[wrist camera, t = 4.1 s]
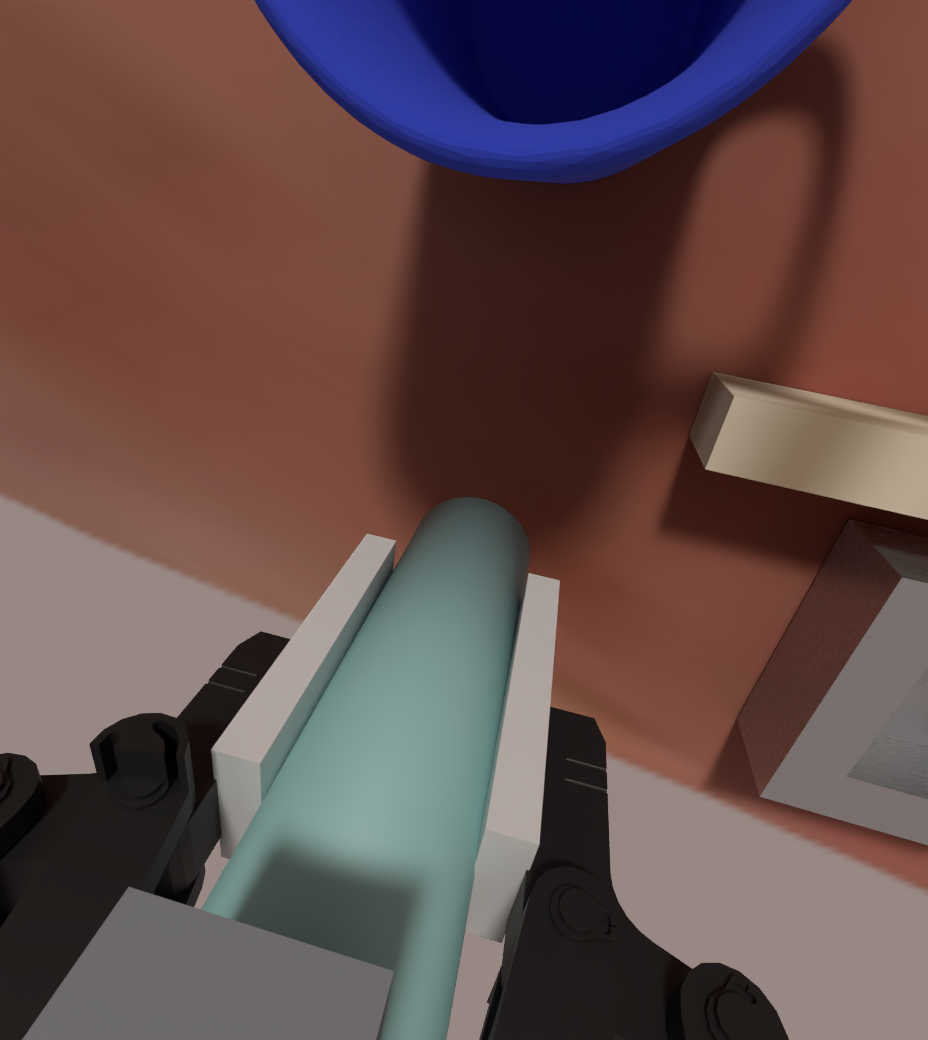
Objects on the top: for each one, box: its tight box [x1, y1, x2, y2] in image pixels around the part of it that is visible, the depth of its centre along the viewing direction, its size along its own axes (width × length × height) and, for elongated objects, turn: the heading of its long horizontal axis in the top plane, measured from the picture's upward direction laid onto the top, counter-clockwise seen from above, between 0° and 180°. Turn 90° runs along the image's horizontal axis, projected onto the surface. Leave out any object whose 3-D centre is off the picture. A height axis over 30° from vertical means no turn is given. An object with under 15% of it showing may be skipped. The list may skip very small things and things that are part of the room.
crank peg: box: [22, 497, 530, 1040], centre depth 10 cm, size 3×8×13 cm, turn 170°
